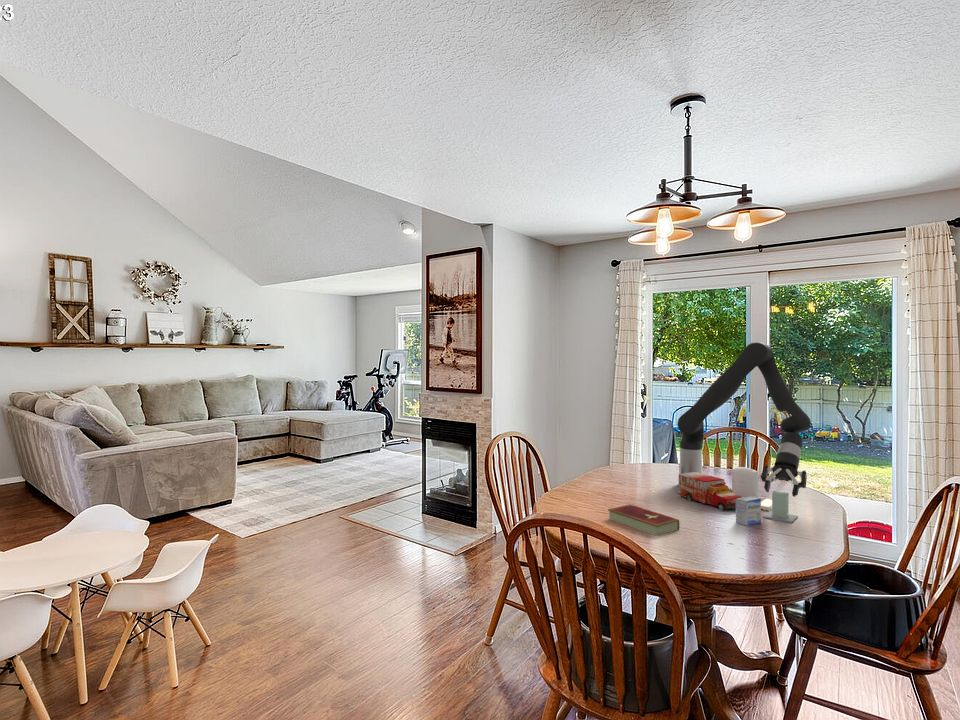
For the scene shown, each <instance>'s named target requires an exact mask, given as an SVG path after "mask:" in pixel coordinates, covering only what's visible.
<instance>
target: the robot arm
mask: <svg viewBox="0 0 960 720" xmlns="http://www.w3.org/2000/svg"><path fill="white" fill-rule="evenodd" d="M755 368H758V370H760V373H761V375H762V377H763V379H764V381H765V382H764V383H765V384H766V388H767V389H766V390H767V392H768V394H769V397H770V399H771V401H772V403H773V405H774V406H775V408H776V410H777V411H778V412H781V413H784V412H787V413H788V414H790V416H787V417H785V418H782V420H781V422H780V424H779V427H780V433H781V434H780V435H781V439H780V443H779V447H778V449H777V453H776V456H775V462H774V466H773V467H768V465H767V464H766V465H764V466H763V469H762V472H761V475H760V479H761V482H763V483H764V486H763V488H764V490H765V492H767V493H769V492H770V488H771V484H772V483H774V482H776V481H777V480H778V481H785V482H791V483H792V485H793V488H792V492H791V496H792V497H794V498H795V497H796V496H798V495H799V490H800V489H801V488H802V489H805V488H806V487H807V479H808V475H807V474H808V473H807V471H806V470H802V471H799V466H800V461H801V454H802V452H801V451H802V447H803V442H804V441H803V437H802V436H801V434H800V433H802V432H806V431H808V430H810V429H811V427H812V421H811V419H810V417H809V416H808V414H807V413H806V412H805V411H804V410H803V409H802V408H801V407H800V405H798V403H796V401H795V399H794V397H793V396H792V394H791V392H790V389H789V388H788V386H787V385H786V382H785V381H784V378H783V376H782V374H781V373H780V370H779V368H778V366H777V362H776V360H775V356H774V353H773V350H772V348H771V346H770V345H769V344H767V343H765V342H761V341H754V342H750V343H748V344H747V345H746V347H744V349H743V350H742V351H741V353H740V354H739V355H738V356H737V358H736V359H735V361H734V362H733V363H732V364H731V365H730V366H729V367H727V369H726V370H724V372H723V373H722V374H721V375H720V376H719V377H718V378H716V380H714V382H713V383H712V384H710V386H709V387H708V388H707V389H706V391H705V392H704V393H703V394H702V395H701V397H700V398H699V399H698V400H697V401H696V402H695V403H694V404H693V405H692V406H691V407H690V408H689V409H688V410H686V411H685V412H684V413H683V414H681V415H680V417H679V418H678V420H677V422H676V423H677V424H676V425H677V428H678V431H680V432H681V433H682V437H681V440H680V442H679V464H678V475H679V474H683V473H690V472H698V473H702V474H703V463H702V462H703V443H704V431H705V429H704V427H705V424H704V421H705V419H706V418H707V417H708V416H709V415H710V414H711V413H713V412H714V411H717V410H718V408H721V407H722V406H723V405H724V404H725V403H727V402H728V401H729V400H730V399H731V398H732V397H733V396H734V395H735V394H736V392H737V391H738V390H739V389H740V387H741V385H742V384H743V381H744V380H745V379H746V377H747V376H748V375H749V374H750V373H751V372H752V371H754V369H755ZM771 472H772V473H771ZM768 474H769V475H768ZM798 476H799V478H800V482H798V480H797V479H796V478H797V477H798Z"/></svg>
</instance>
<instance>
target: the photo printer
mask: <svg viewBox="0 0 960 720" xmlns="http://www.w3.org/2000/svg"><path fill="white" fill-rule="evenodd" d="M731 489H732V491H733V492H732V493H733V494H736V495H738V496H741V497H742V498H743V497H748V496H752V497H757V498H760V497H759V473H758V471H757V470H755V469H753V468H749V467H745V466H738V467H733V468H732V470H731Z"/></svg>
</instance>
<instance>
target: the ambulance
mask: <svg viewBox="0 0 960 720" xmlns="http://www.w3.org/2000/svg"><path fill="white" fill-rule="evenodd" d="M732 492H733V491H732V488H729V486H728V485H727V482H725V479H723V478H720V477H717V476H713V475H710V474H705V473H703V472H702V473H698V472H690V473H683V474H679V473H678V493H677V495H679V496H682V497H684V498H685V499H686V500H687V501H689V500H690V502H692V501H693V500H695V501H697V502H700V503H703V504H708V505H712V506H715V507H717V509H718V510H719V509H720V511H721V510H722V512H726V511H728V510H729V509H733V508H734V509H733V510H736V499H738V498H743V497H741V496H738V495H736V494H733V493H732ZM693 502H694V501H693ZM725 510H726V511H725Z"/></svg>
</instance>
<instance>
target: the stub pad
mask: <svg viewBox="0 0 960 720" xmlns="http://www.w3.org/2000/svg"><path fill="white" fill-rule="evenodd" d="M788 514H789V516H788V517H787V518H783V517H778V516H773V515H772V511H768V512H767V513H765V514H764V515H763V516H762V518H764V519H767V518H769V519H768V520H772V519H773V520H772V521H777V522H783V523H788V522H789V524H793V523H794V522H795V521H796V520H797V519H798V518H797V517H799V516H798V515H795V514H791V513H788ZM796 518H797V519H796ZM795 519H796V520H795ZM794 520H795V521H794ZM793 521H794V522H793ZM792 522H793V523H792Z"/></svg>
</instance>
